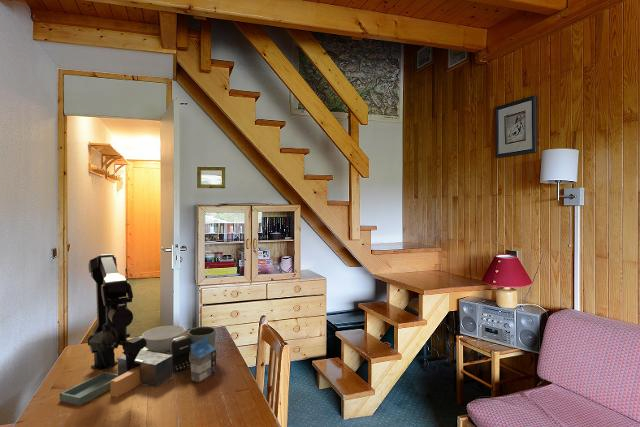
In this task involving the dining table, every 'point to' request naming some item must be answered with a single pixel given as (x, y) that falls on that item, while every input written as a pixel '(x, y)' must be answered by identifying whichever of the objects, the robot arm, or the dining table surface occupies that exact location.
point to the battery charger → (180, 353)
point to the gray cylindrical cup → (202, 335)
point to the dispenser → (149, 367)
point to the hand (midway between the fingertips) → (117, 368)
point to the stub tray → (88, 389)
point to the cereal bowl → (162, 337)
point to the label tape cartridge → (202, 360)
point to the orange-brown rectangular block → (125, 381)
